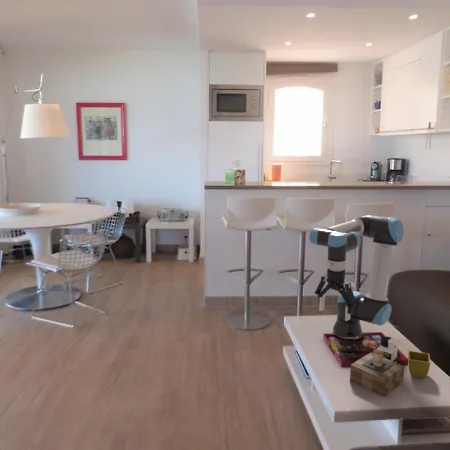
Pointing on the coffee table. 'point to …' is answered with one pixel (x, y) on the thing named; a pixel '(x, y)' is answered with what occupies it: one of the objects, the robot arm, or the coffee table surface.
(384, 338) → the medicine bottle
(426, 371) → the flower pot
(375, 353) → the peg
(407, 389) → the coffee table surface
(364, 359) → the socket block
